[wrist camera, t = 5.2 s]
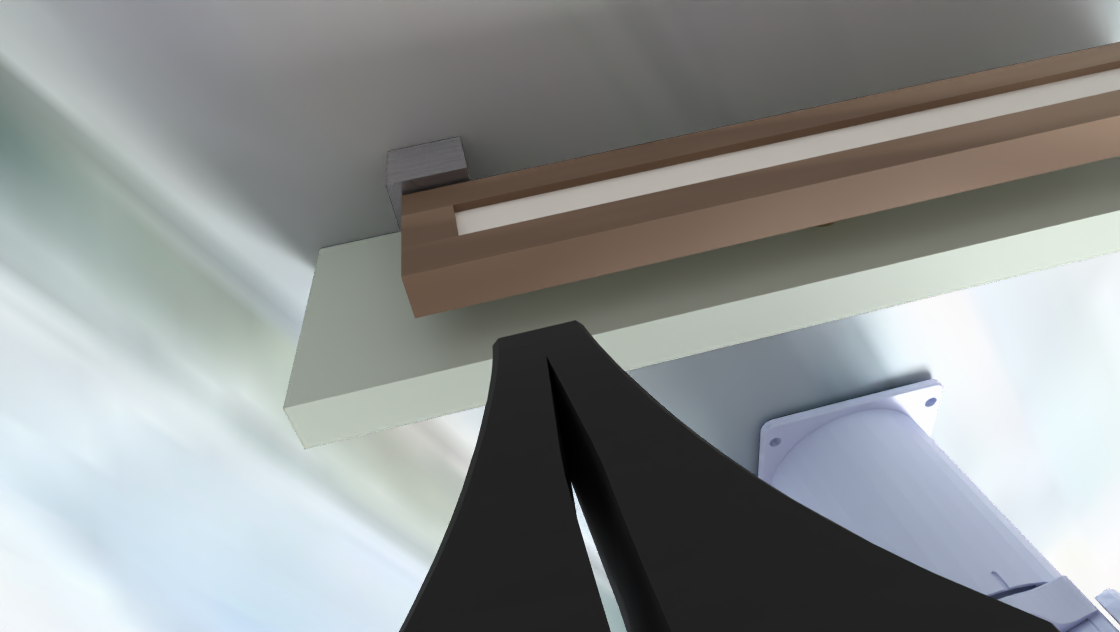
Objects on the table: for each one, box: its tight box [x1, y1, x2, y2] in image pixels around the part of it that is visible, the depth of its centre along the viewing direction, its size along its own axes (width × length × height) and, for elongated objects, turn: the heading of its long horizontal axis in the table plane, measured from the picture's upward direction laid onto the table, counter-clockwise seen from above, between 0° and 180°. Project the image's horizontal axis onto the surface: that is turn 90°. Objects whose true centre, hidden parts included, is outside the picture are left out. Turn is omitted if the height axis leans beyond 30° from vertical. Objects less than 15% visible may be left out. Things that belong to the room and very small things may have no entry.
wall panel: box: [283, 137, 1120, 449], centre depth 17 cm, size 4×26×7 cm, turn 98°
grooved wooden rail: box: [401, 42, 1120, 318], centre depth 15 cm, size 1×20×4 cm, turn 98°
